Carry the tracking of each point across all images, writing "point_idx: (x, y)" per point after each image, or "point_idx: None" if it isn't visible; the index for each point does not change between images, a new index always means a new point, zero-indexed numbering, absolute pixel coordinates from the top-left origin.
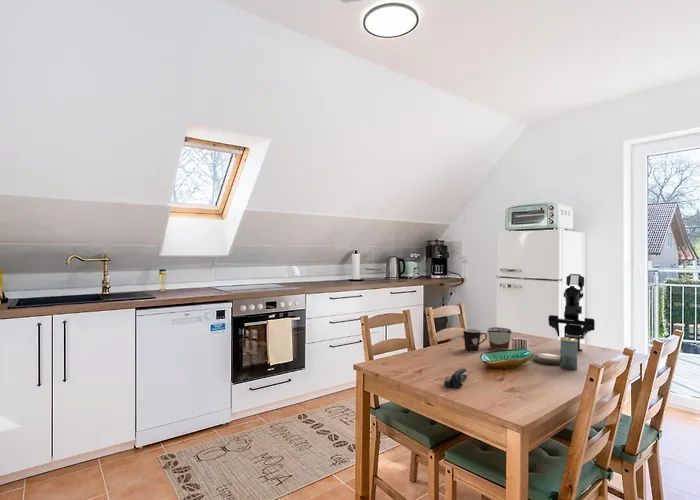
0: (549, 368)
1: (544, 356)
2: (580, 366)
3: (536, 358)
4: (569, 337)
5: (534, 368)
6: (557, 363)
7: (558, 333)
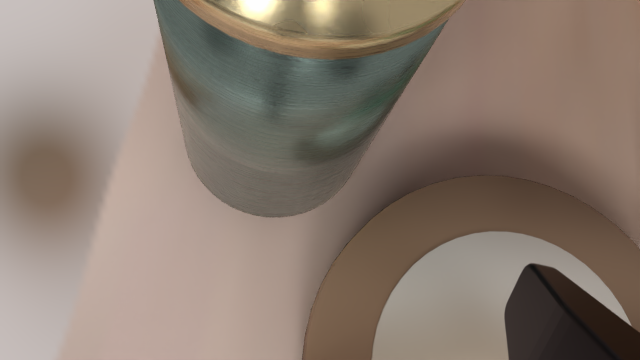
0: (467, 66)
1: None
2: (111, 270)
3: (632, 251)
4: (288, 4)
5: (599, 24)
6: None
7: (575, 295)
